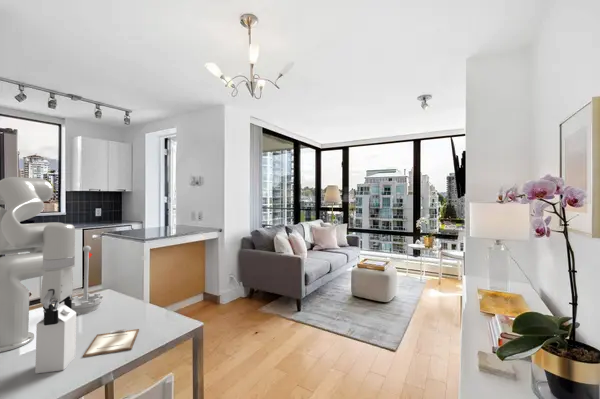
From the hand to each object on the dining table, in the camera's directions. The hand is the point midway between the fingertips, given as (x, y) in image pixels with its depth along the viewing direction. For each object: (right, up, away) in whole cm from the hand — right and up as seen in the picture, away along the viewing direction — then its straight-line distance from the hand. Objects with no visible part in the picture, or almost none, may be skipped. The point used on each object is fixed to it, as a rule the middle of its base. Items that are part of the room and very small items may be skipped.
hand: (58, 317), depth 85 cm
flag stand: (-26, -15, +43) cm, 52 cm away
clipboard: (+7, -15, +14) cm, 22 cm away
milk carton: (-1, -15, 0) cm, 15 cm away
